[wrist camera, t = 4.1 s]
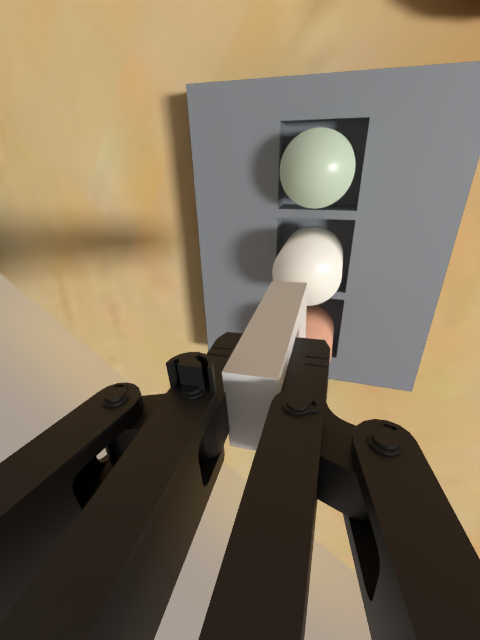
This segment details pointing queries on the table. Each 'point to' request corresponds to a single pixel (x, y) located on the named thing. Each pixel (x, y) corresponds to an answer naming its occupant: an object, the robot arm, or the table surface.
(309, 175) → the sage button
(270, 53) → the table surface
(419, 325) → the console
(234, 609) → the robot arm
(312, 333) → the terracotta button
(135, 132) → the table surface
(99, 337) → the table surface
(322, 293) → the white egg
